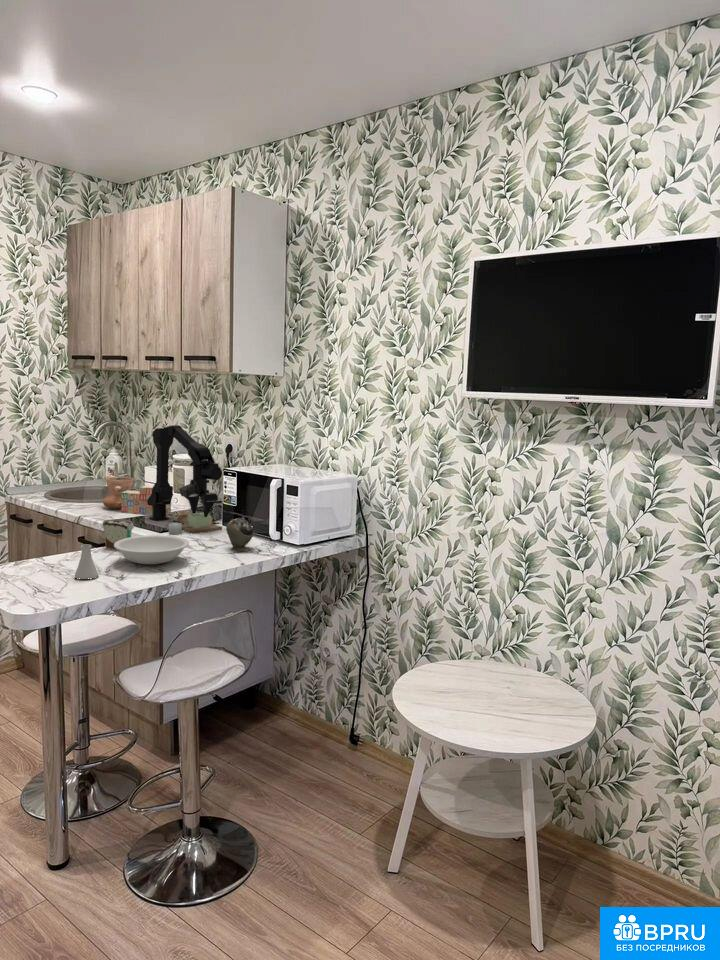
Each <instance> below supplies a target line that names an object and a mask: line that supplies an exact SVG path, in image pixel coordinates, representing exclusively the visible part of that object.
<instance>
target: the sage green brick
mask: <svg viewBox="0 0 720 960" xmlns="http://www.w3.org/2000/svg"><path fill="white" fill-rule="evenodd" d="M210 517H211V514H210V513H209V514H208V516H207V517H204V511H203V512H196V513H189V516H188V524H189V526H190V527H193V528H201V527H208V526H210Z"/></svg>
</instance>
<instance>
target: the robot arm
mask: <svg viewBox="0 0 720 960" xmlns="http://www.w3.org/2000/svg"><path fill="white" fill-rule="evenodd" d="M174 439H176V441H177V442H178V443H180V444H181V446H183V448H185V449H186V451H187V455H188V457H189V458H190V459H191V460H192V461H191V462H190V463H189V466H191V467H192V479H190V480H189V481H190V482H189V483H188V484H185V485H183V486H182V487H180V488H178V491H179V493H180V497H184V498H185V499H186V500H187V501H188V503H189V506H190V509H191V512H192V513H191V514H194V513H197V510H198V509H197V508H198V504H199V502H200V503H201V504H202V509H203V512H204V517H207V516H208V514H210V511H211V510H212V508H213V506H214V505H215V503H216V502H217V501H219V495H218V494H217V493H214V492H210V490H209V489H208V484H209V483H210V480H211V481H219V480H220V479H221V478H222V476H223V471H222V469H221V467H220V466H219V463H217V462H216V461H215V459H214V457H213V455H212V453H211V450H210V448H209V447H207V446H206V445H205V444H203V443H199V442H197V441H196V440H195V439H193V437H192V436H190V435H189V433H188V432H187V431H185V430H184V429H183V427H182V426H181V425H179V424H176V425H175V424H174V425H169V426H166V427H157V428H155V429H154V430H153V431H152V441H153V444H154V446H155V447H156V475H155V476H156V479H155V480H156V481H155V483H154V485H152V486H153V488H152V494H151V496H150V497H149V498H148V500H147V503H148V505H150V506H152V515H151V516H149V517H148V519H151V520H154V521H162V520H169V519H170V517H168V516H167V515H166V505H168V504H171V505H172V499H173V496H174V493H173V492H174V487H173V486H172V485H171V484H170V483H169V469H170V467H169V466H170V465H169V463H170V459H169V458H170V449H171V447H172V445H173V443H174Z"/></svg>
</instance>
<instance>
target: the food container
mask: <svg viewBox="0 0 720 960" xmlns="http://www.w3.org/2000/svg"><path fill="white" fill-rule="evenodd" d="M102 527H103V531H104V532H103V533H104V543H105V544H104V545H105V549H107V550H108V549H109V550H113V549H116V548H115V547H114V544H115V542H117V541H119V540H122V539H125V538H130V537H132V531H133V529H135V526H134V523H133V521H132V520H129V519H124V518H123V519H121V518H118V519H117V518H116V519H113V518H112V519H105V520H103V522H102Z"/></svg>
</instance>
